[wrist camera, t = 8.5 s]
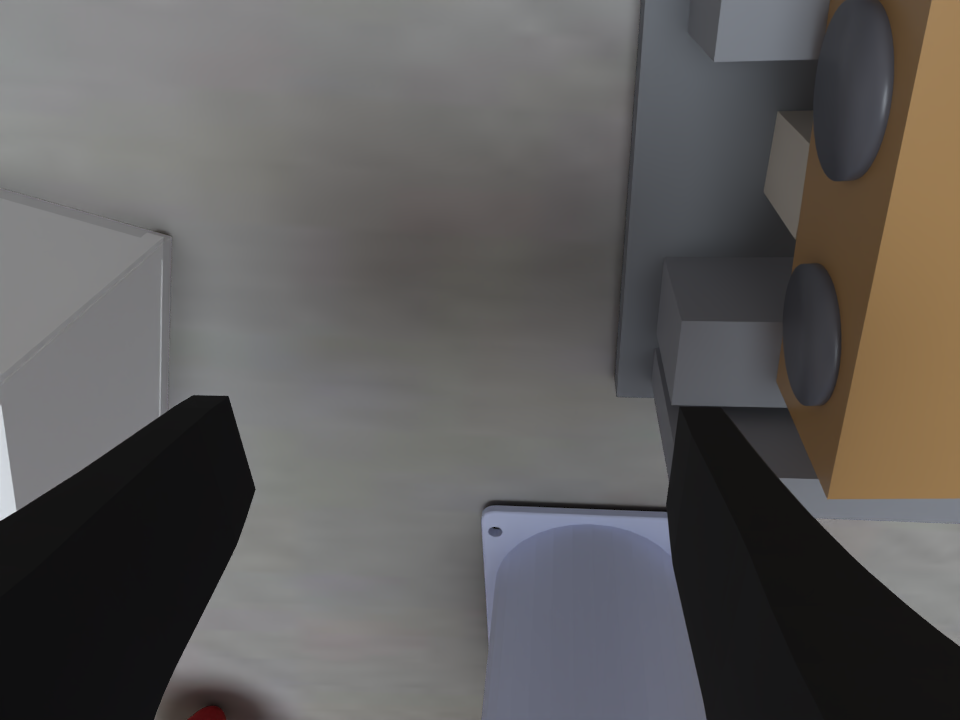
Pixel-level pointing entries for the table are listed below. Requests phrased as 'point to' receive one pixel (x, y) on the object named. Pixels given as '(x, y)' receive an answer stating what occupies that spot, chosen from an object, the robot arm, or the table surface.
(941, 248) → the orange-brown rectangular block
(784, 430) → the display stand
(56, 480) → the butter dish
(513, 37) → the table surface
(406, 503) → the table surface
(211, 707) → the strawberry
